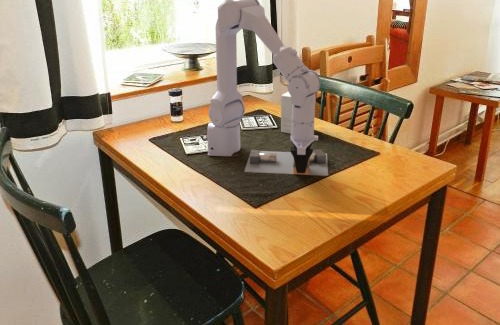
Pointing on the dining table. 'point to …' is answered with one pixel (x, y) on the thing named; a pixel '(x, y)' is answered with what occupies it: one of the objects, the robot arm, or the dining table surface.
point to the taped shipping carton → (301, 173)
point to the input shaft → (262, 157)
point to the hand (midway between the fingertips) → (301, 168)
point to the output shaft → (318, 157)
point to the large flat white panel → (285, 165)
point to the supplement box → (286, 113)
